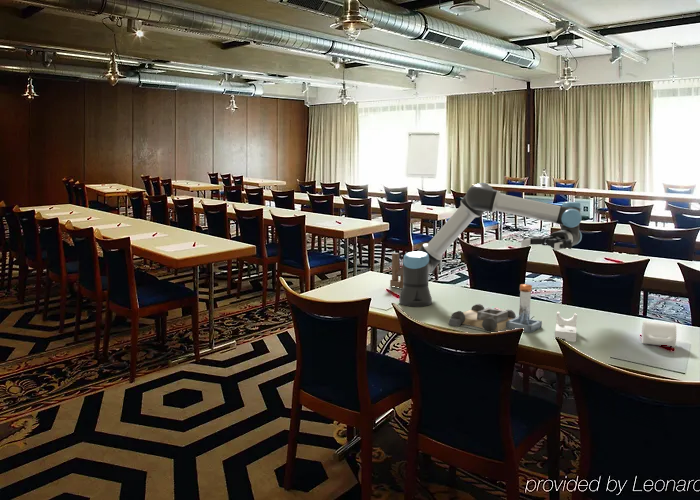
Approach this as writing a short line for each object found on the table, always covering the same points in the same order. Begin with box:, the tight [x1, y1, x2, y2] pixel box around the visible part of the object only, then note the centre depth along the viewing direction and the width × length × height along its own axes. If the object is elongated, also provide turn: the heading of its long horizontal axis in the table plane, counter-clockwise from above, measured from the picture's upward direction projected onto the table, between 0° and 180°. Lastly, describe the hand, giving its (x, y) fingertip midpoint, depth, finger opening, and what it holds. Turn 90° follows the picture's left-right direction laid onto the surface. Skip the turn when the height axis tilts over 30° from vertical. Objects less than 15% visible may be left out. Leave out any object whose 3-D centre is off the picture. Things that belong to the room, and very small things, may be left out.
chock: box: [448, 317, 462, 327], centre depth 218 cm, size 4×2×2 cm, turn 47°
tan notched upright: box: [389, 252, 403, 289], centre depth 284 cm, size 4×11×18 cm, turn 41°
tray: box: [505, 316, 543, 334], centre depth 214 cm, size 10×10×2 cm
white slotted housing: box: [641, 320, 677, 348], centre depth 191 cm, size 12×10×8 cm
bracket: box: [554, 311, 578, 343], centre depth 204 cm, size 13×7×8 cm, turn 158°
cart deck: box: [450, 303, 517, 332], centre depth 221 cm, size 20×18×6 cm
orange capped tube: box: [518, 283, 533, 325], centre depth 213 cm, size 4×4×16 cm
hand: (538, 245), depth 217 cm, fingers open, 13 cm apart
